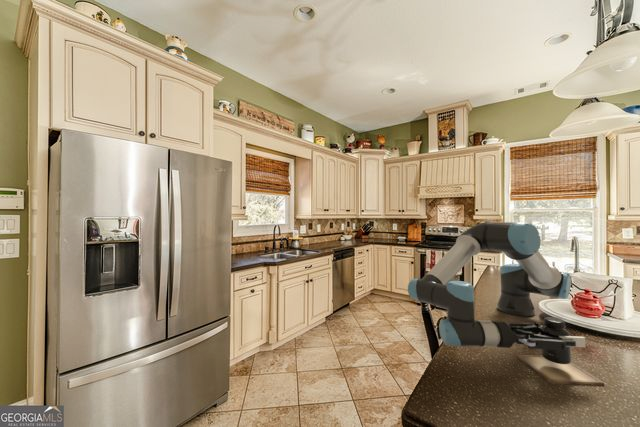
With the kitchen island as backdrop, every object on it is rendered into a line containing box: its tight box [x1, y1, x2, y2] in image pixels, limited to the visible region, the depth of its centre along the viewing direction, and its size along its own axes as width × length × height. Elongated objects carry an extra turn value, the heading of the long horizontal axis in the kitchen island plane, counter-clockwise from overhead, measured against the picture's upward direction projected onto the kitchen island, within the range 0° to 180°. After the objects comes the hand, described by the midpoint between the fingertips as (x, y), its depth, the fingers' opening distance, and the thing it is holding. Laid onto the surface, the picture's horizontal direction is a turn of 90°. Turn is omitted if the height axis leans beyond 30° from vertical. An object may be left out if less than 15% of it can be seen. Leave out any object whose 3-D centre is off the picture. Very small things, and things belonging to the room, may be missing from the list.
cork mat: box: [516, 354, 605, 386], centre depth 81 cm, size 14×14×1 cm
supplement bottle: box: [539, 316, 572, 364], centre depth 81 cm, size 7×7×12 cm
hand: (573, 336), depth 81 cm, fingers closed on supplement bottle, 7 cm apart
